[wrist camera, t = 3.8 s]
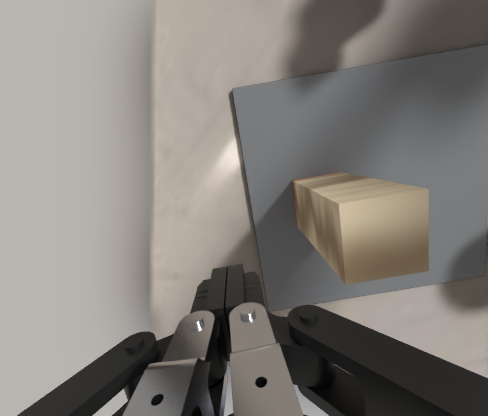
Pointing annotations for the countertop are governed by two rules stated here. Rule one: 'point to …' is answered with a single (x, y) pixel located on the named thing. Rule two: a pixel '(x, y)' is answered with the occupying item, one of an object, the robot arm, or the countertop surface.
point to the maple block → (364, 225)
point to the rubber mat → (369, 163)
